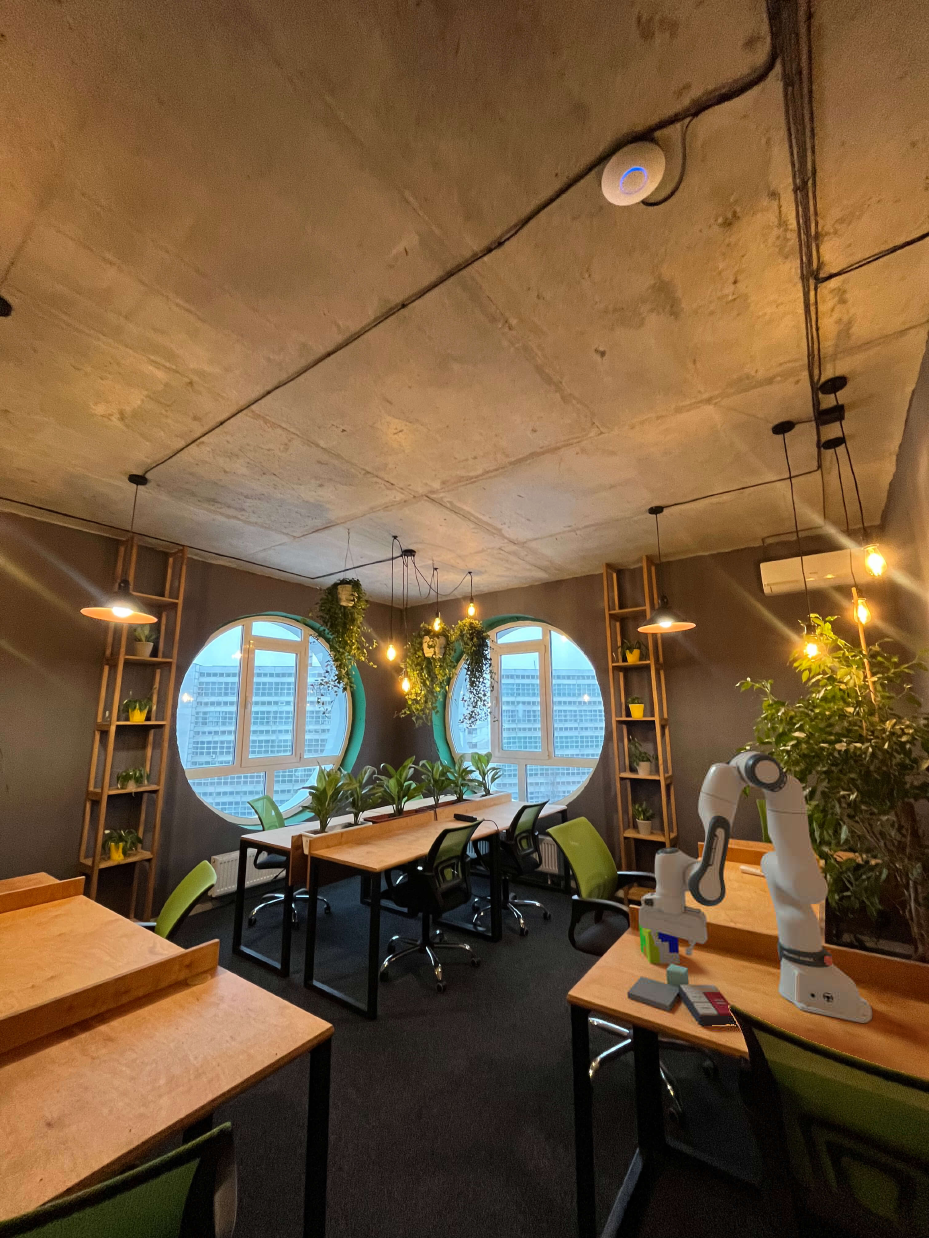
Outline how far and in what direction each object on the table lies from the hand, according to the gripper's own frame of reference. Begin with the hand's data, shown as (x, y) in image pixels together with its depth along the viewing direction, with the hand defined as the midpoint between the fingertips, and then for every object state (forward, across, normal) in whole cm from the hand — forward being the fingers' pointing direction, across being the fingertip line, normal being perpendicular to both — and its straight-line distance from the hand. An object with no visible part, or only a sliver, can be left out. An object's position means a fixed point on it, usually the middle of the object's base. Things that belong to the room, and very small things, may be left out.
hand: (673, 950), depth 159 cm
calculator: (+11, -12, +8) cm, 18 cm away
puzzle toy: (+10, +10, -18) cm, 23 cm away
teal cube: (+10, -1, 0) cm, 10 cm away
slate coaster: (+10, +3, +10) cm, 14 cm away
